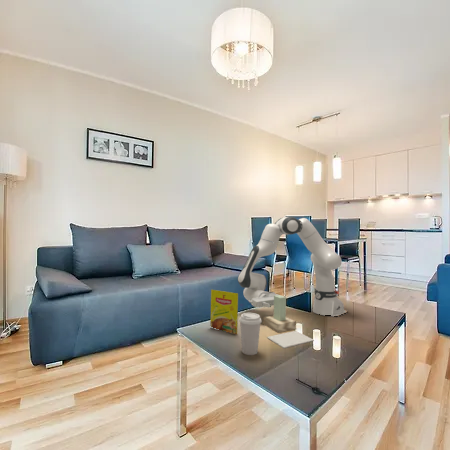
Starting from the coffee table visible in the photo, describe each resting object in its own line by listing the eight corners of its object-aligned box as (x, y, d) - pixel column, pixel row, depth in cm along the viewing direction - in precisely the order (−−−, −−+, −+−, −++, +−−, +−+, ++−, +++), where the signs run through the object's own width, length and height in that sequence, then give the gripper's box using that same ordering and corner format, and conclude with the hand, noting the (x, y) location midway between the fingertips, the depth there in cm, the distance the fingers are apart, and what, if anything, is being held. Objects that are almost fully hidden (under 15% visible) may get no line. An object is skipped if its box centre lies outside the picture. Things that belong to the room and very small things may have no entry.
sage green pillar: (279, 317, 142) (279, 295, 142) (285, 320, 138) (285, 297, 138) (273, 318, 140) (273, 295, 140) (279, 321, 136) (280, 298, 136)
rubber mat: (295, 331, 132) (295, 330, 132) (313, 340, 122) (313, 339, 122) (266, 337, 124) (266, 336, 124) (283, 348, 113) (283, 347, 113)
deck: (280, 321, 147) (280, 314, 147) (295, 328, 136) (296, 321, 136) (263, 324, 141) (263, 317, 141) (277, 332, 131) (277, 324, 131)
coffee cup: (234, 348, 112) (235, 313, 113) (253, 344, 116) (254, 311, 116) (244, 358, 104) (245, 320, 104) (265, 354, 107) (266, 317, 108)
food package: (209, 328, 134) (210, 289, 134) (210, 327, 135) (211, 289, 135) (236, 334, 127) (237, 293, 127) (237, 334, 128) (238, 293, 128)
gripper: (247, 295, 149) (261, 301, 136) (275, 291, 158) (291, 297, 146) (246, 306, 148) (261, 313, 136) (275, 302, 158) (291, 308, 146)
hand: (277, 304), depth 141 cm, fingers open, 8 cm apart
